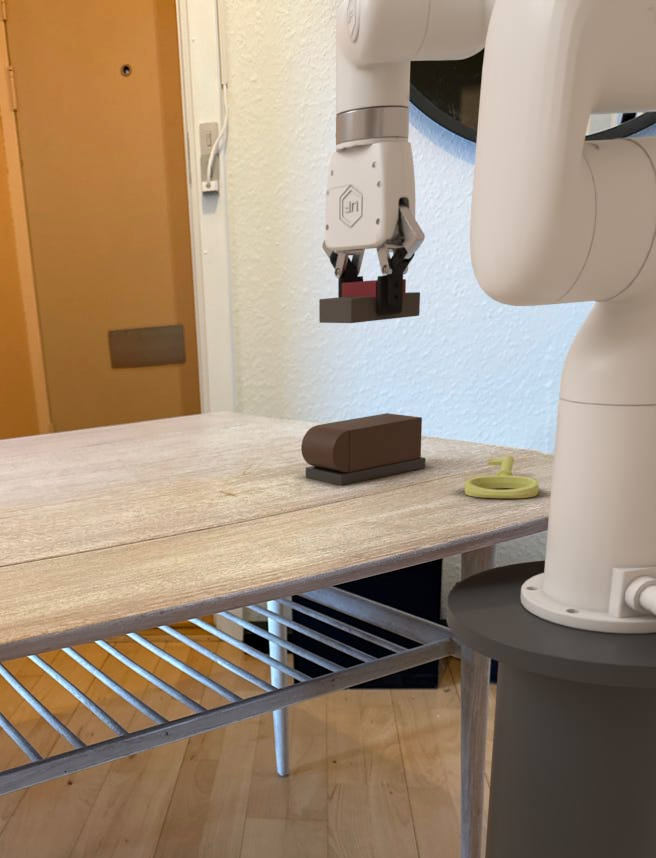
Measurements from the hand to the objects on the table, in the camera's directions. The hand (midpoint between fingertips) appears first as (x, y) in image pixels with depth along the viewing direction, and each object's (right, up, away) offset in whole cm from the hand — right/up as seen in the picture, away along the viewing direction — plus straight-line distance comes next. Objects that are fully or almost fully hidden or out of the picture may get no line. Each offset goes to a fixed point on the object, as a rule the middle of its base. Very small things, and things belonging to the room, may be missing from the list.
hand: (369, 312), depth 103 cm
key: (+13, -21, -5) cm, 25 cm away
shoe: (+1, -17, +7) cm, 18 cm away
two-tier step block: (0, -1, 0) cm, 1 cm away
